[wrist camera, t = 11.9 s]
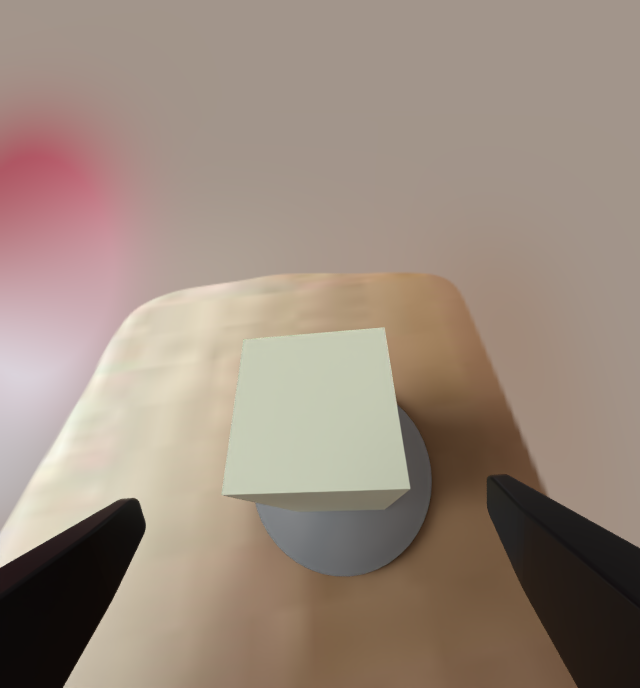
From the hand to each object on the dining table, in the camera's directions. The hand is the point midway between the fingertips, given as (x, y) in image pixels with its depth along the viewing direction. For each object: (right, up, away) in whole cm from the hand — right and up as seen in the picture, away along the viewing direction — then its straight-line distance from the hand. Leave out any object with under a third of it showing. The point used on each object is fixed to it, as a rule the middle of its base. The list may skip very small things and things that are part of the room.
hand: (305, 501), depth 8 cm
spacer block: (+2, -3, +11) cm, 11 cm away
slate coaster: (+2, -4, +11) cm, 12 cm away
